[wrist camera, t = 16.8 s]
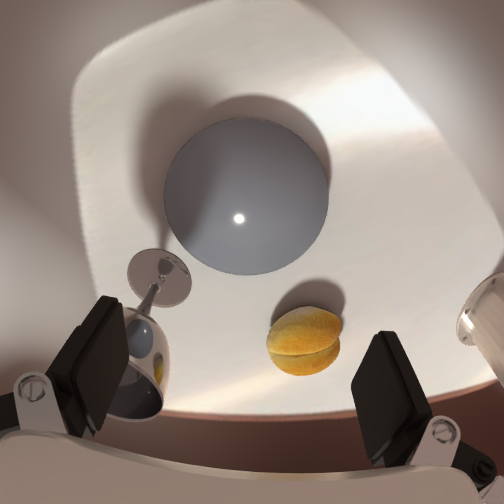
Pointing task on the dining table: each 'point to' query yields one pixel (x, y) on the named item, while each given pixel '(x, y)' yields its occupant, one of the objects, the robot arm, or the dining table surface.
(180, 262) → the wine glass
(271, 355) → the bread roll
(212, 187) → the plate
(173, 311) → the dining table surface
